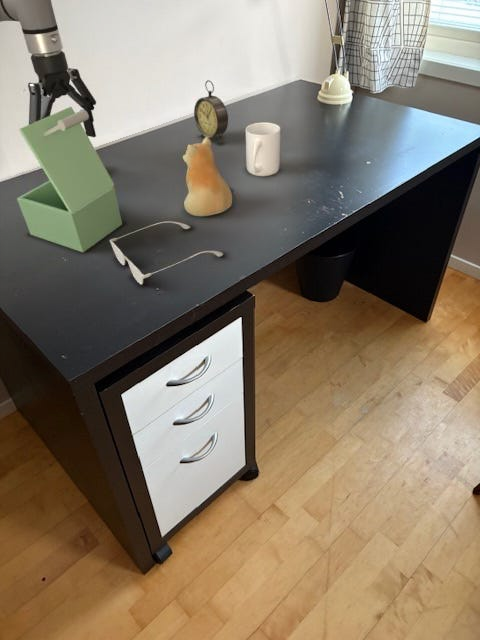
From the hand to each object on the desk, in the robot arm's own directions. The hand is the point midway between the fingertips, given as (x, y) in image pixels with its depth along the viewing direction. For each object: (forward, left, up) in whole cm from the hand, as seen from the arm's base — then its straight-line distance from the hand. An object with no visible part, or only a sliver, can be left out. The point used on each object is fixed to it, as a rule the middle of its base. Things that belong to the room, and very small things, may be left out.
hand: (73, 145), depth 122 cm
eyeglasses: (+34, -35, -8) cm, 49 cm away
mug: (+48, +5, -8) cm, 49 cm away
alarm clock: (+31, +26, -8) cm, 41 cm away
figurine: (+38, -12, -8) cm, 40 cm away
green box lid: (+15, -28, +9) cm, 33 cm away
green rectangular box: (+11, -27, -8) cm, 30 cm away
